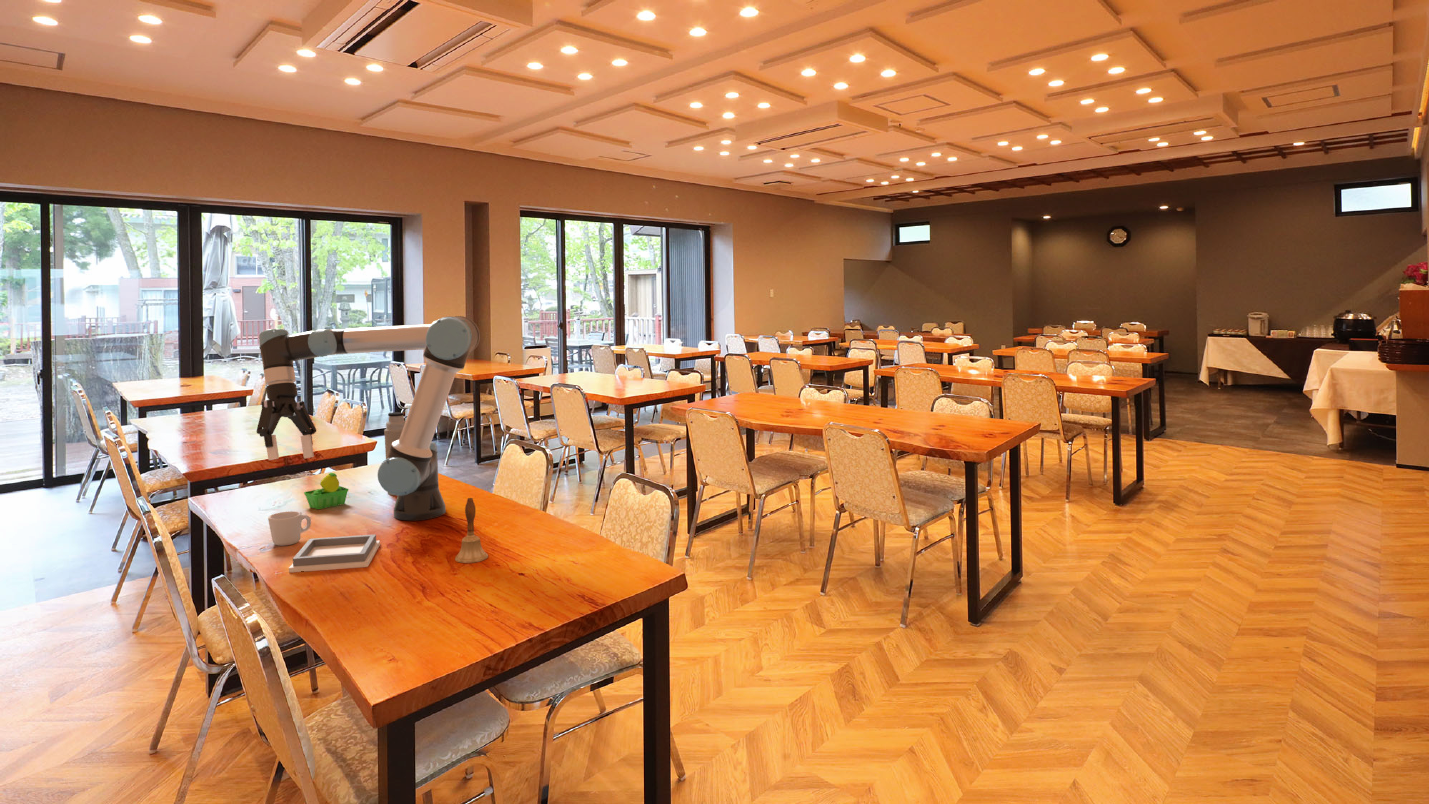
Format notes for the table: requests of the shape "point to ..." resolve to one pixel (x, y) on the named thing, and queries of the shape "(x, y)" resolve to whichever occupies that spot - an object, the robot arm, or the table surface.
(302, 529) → the cup
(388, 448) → the thermos bottle
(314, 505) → the fruit basket
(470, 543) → the hand bell
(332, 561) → the gray rimmed square tray
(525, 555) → the table surface
